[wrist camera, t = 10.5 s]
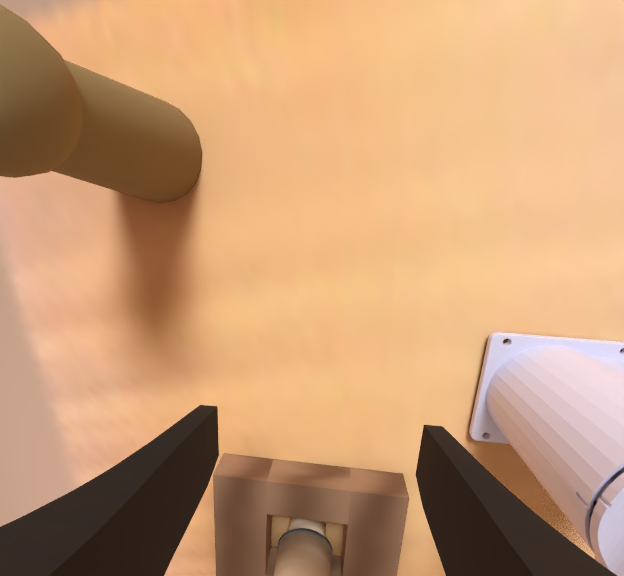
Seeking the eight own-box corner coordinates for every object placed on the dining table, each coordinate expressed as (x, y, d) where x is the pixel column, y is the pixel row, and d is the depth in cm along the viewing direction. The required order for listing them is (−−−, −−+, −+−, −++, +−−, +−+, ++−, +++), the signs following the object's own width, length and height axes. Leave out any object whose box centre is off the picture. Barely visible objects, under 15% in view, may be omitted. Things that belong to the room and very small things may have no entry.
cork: (172, 221, 20) (-27, 225, 9) (94, 164, 19) (-212, 96, 8) (220, 140, 18) (52, 30, 7) (137, 76, 18) (-166, -137, 7)
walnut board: (402, 473, 22) (408, 497, 21) (385, 589, 25) (389, 620, 23) (223, 453, 23) (213, 474, 22) (225, 567, 26) (216, 594, 24)
